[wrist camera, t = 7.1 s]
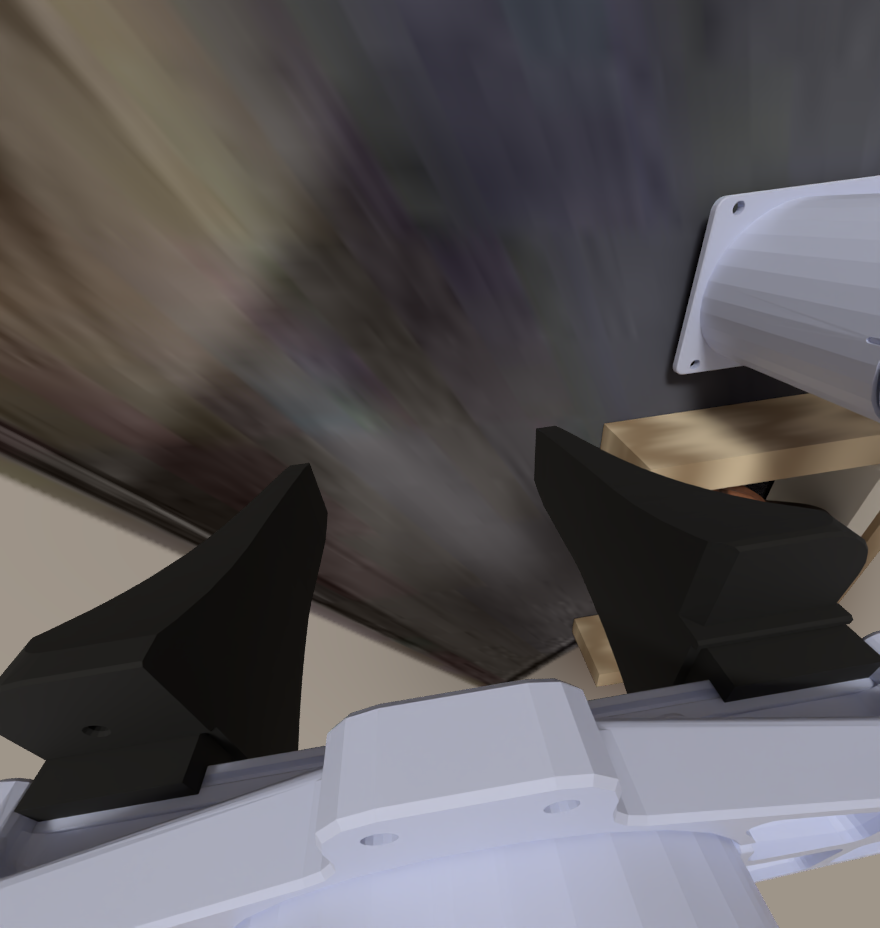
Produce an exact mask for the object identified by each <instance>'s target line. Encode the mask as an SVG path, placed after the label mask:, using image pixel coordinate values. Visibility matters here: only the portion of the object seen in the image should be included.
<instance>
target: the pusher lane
mask: <svg viewBox="0 0 880 928" xmlns="http://www.w3.org/2000/svg"><path fill="white" fill-rule="evenodd" d="M600 449H602V450H604V451H606V452H608V453H610V454H612V455H614V456H616V457H618V458H620V459H623V460H625V461H627V462H629V463H632V464H634V465H636V466H639V467H641V468H644V469H646V470H649V471H652V472H654V473H657V474H660V475H663V476H666V477H668V478H671V479H674V480H678V481H681V482H684V483H687V484H691V485H695V486H698V487H702V488H705V489H709V490H714V489H721V488H727V487H734V486H740V485H746V484H753V483H759V482H766V481H772V480H779V479H785V478H791V477H798V476H804V475H811V474H817V473H823V472H830V471H836V470H843V469H849V468H856V467H862V466H868V465H875V464H880V423H878V422H876V421H874V420H871V419H869V418H867V417H864V416H862V415H860V414H857V413H855V412H853V411H850V410H848V409H846V408H843V407H841V406H839V405H836V404H834V403H831V402H829V401H827V400H824V399H822V398H820V397H817V396H815V395H813V394H810V393H807V394H800V395H794V396H787V397H780V398H774V399H767V400H760V401H754V402H747V403H740V404H733V405H727V406H720V407H713V408H707V409H700V410H693V411H686V412H680V413H673V414H666V415H660V416H653V417H646V418H639V419H633V420H626V421H619V422H613V423H606V424H604V428H603V435H602V441H601V448H600ZM861 537H862V538H863V539H865V541H866V544H867V547H868V555H867V560H866V564H865V565H864V567H863V569H862V570H861V572H860V573H859V575H858V576H857V577H856V579H855V580H854V581H853V583H852V584H851V585H850V586H849V588H848V589H847V590H846V592H845V593H844V594H843V596H842V597H841V598H840V599H839V601H838V602H837V603H839V602H840V601H841V600H842V598H843V597H844V595H845V594H846V593H847V592H848V591H849V589H850V588H851V587H852V585H853V584H854V583H855V582H856V580H857V579H858V578H859V577H860V575H861V574H862V573H863V571H864V570H865V569H866V568H867V566H868V565H869V564H870V562H871V561H872V560H873V559H874V557H875V556H876V555H877V553H878V552H879V551H880V511H879V512H878V514H877V515H876V517H875V518H874V519H873V521H872V522H871V523H870V525H869V526H868V528H867V529H866V530H865V532H864V533H863V535H862V536H861ZM572 632H573V634H574V637H575V639H576V641H577V644H578V646H579V648H580V651H581V653H582V655H583V657H584V660H585V662H586V664H587V667H588V669H589V671H590V673H591V676H592V678H593V680H594V683H595V685H596V687H599V686H606V685H612V684H617V683H623V680H622V677H621V674H620V671H619V668H618V665H617V663H616V660H615V657H614V655H613V652H612V649H611V647H610V644H609V641H608V639H607V636H606V633H605V630H604V628H603V625H602V623H601V620H600V618H599V615H594V616H588V617H582V618H576V619H574V623H573V630H572Z"/></svg>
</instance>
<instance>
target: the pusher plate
mask: <svg viewBox="0 0 880 928" xmlns="http://www.w3.org/2000/svg"><path fill="white" fill-rule="evenodd" d="M766 500H771V501H785V502H795V503H802V504H809V505H813V506H816V507H819V508H822V509H824V510H826V511H827V512H828V513H829V514H830V515H831V516H832V517H834V518H835V519H836V520H838V521H839V522H841V523H842V524H843V525H845V526H846V527H848V528H849V529H851V530H852V531H853V532H855V533H856V534H858V535H859V536H860V537H861V536H862V535H863V533H864V532H865V530H866V529H867V528H868V526H869V525H870V523H871V522H872V521H873V519H874V518H875V517H876V515H877V514H878V512H879V511H880V464H875V465H868V466H862V467H856V468H849V469H843V470H836V471H830V472H823V473H817V474H811V475H804V476H798V477H791V478H785V479H779V480H775V482H774V484H773V486H772V488H771V490H770V492H769V494H768V496H767V498H766Z"/></svg>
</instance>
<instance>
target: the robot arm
mask: <svg viewBox="0 0 880 928" xmlns="http://www.w3.org/2000/svg"><path fill="white" fill-rule="evenodd" d="M736 203H738V208H737V210H736V211H735V213H734V214H733V207H734V205H735V204H736ZM694 360H695V362H694V364H693V365H692V366H690V365H691V363H692V362H693V361H694ZM738 366H747V367H749V368H752V369H754V370H756V371H759V372H761V373H763V374H766V375H768V376H770V377H773V378H775V379H777V380H780V381H782V382H784V383H787V384H789V385H792V386H794V387H796V388H799V389H801V390H803V391H806V392H808V393H810V394H813V395H815V396H817V397H820V398H822V399H824V400H827V401H829V402H831V403H834V404H836V405H839V406H841V407H843V408H846V409H848V410H850V411H853V412H855V413H857V414H860V415H862V416H864V417H867V418H869V419H871V420H874V421H876V422H878V423H880V175H878V176H871V177H863V178H856V179H848V180H840V181H833V182H825V183H818V184H810V185H803V186H795V187H787V188H780V189H772V190H765V191H757V192H750V193H742V194H734V195H727V196H723V197H721V198H719V199H718V200H717V201H716V202H715V203H714V205H713V207H712V209H711V212H710V216H709V220H708V224H707V228H706V232H705V236H704V240H703V245H702V249H701V253H700V257H699V261H698V265H697V269H696V273H695V277H694V281H693V285H692V289H691V294H690V298H689V302H688V306H687V310H686V314H685V318H684V322H683V326H682V330H681V334H680V339H679V343H678V347H677V351H676V355H675V359H674V363H673V370H674V371H675V372H677V373H678V374H690V373H697V372H704V371H711V370H718V369H724V368H731V367H738ZM534 481H535V484H536V487H537V489H538V492H539V495H540V497H541V500H542V502H543V505H544V507H545V509H546V511H547V512H548V514H549V516H550V518H551V520H552V521H553V523H554V525H555V527H556V529H557V530H558V532H559V534H560V536H561V537H562V539H563V541H564V543H565V544H566V546H567V548H568V550H569V552H570V553H571V555H572V557H573V559H574V560H575V562H576V564H577V566H578V568H579V570H580V572H581V575H582V577H583V579H584V582H585V584H586V586H587V589H588V591H589V593H590V596H591V598H592V600H593V603H594V605H595V608H596V610H597V613H598V615H599V618H600V620H601V623H602V625H603V628H604V630H605V633H606V636H607V639H608V641H609V644H610V647H611V649H612V652H613V655H614V657H615V660H616V663H617V665H618V668H619V671H620V674H621V677H622V680H623V683H624V685H625V689H626V691H627V694H623V695H619V696H612V697H606V698H600V699H594V700H589V701H587V700H586V697H585V695H584V693H583V690H582V689H580V688H578V687H576V686H574V685H571V684H568V683H565V682H563V681H560V680H557V679H555V678H554V679H553V678H552V679H525V680H519V681H513V682H507V683H501V684H495V685H489V686H483V687H478V688H472V689H466V690H461V691H454V692H448V693H443V694H436V695H430V696H425V697H419V698H413V699H407V700H401V701H395V702H389V703H383V704H378V705H375V706H372V707H369V708H366V709H362V710H360V711H356V712H353V713H350V714H349V715H348V716H347V717H346V718H344V719H343V720H342V721H341V722H340V723H338V724H337V725H336V726H335V727H334V728H333V729H332V730H331V731H329V732H328V734H327V740H326V746H321V747H315V748H310V749H304V750H298V741H299V718H300V702H301V688H302V687H301V686H302V675H303V664H304V653H305V644H306V635H307V627H308V618H309V612H310V606H311V601H312V597H313V593H314V588H315V584H316V580H317V575H318V571H319V567H320V563H321V558H322V554H323V549H324V545H325V540H326V529H327V514H328V512H327V509H326V507H325V504H324V501H323V499H322V496H321V493H320V490H319V488H318V485H317V482H316V480H315V477H314V474H313V471H312V469H311V466H310V463H305V464H298V465H292V466H289V467H288V468H287V469H285V470H284V471H283V472H282V473H281V474H280V475H279V476H278V477H277V478H275V479H274V480H273V481H272V482H271V483H270V484H269V485H268V486H267V487H266V488H265V489H264V490H263V491H262V492H261V493H260V494H259V495H258V496H257V497H256V498H255V499H253V500H252V501H251V502H250V503H249V504H248V505H247V506H246V507H245V508H244V509H243V510H241V511H240V512H239V513H238V514H237V515H236V516H234V517H233V518H232V519H231V520H230V521H229V522H228V523H226V524H225V525H224V526H223V527H222V528H221V529H219V530H218V531H217V532H216V533H214V534H213V535H212V536H210V537H209V538H208V539H207V540H205V541H204V542H202V543H201V544H200V545H198V546H197V547H196V548H194V549H193V550H191V551H190V552H189V553H187V554H186V555H184V556H183V557H181V558H180V559H178V560H177V561H175V562H173V563H172V564H170V565H169V566H167V567H166V568H164V569H163V570H161V571H159V572H158V573H156V574H155V575H153V576H152V577H150V578H149V579H147V580H145V581H143V582H141V583H140V584H138V585H136V586H135V587H133V588H131V589H129V590H127V591H126V592H124V593H122V594H120V595H118V596H117V597H115V598H113V599H111V600H109V601H107V602H105V603H103V604H102V605H100V606H98V607H96V608H94V609H92V610H90V611H88V612H86V613H84V614H82V615H79V616H77V617H75V618H73V619H71V620H69V621H67V622H65V623H63V624H61V625H59V626H57V627H55V628H52V629H51V630H49V631H46V632H44V633H42V634H40V635H38V636H35V637H33V638H32V639H31V640H30V641H29V642H28V643H27V645H26V646H25V647H24V649H23V650H22V651H21V652H20V653H19V654H18V656H17V657H16V658H15V659H14V661H13V662H12V663H11V664H10V665H9V666H8V668H7V669H6V670H5V671H4V672H3V674H2V675H1V676H0V735H1V736H3V737H5V738H6V739H8V740H10V741H12V742H14V743H15V744H17V745H19V746H21V747H23V748H24V749H26V750H28V751H30V752H32V753H34V754H35V755H37V756H39V757H41V758H43V759H44V760H46V761H45V763H44V764H43V766H42V768H41V769H40V771H39V772H38V774H37V775H36V777H35V779H34V780H31V779H24V778H11V779H4V780H0V928H779V927H778V925H777V923H776V921H775V919H774V918H773V916H772V914H771V912H770V910H769V908H768V906H767V905H766V903H765V901H764V900H763V897H762V896H761V894H760V892H759V890H758V888H757V886H756V884H755V883H756V882H760V881H764V880H769V879H773V878H777V877H782V876H786V875H790V874H794V873H799V872H802V871H807V870H811V869H816V868H820V867H824V866H828V865H832V864H837V863H841V862H845V861H850V860H854V859H858V858H863V857H867V856H871V855H876V854H880V631H876V632H873V633H871V634H869V635H867V636H865V637H863V638H860V637H859V636H858V635H857V634H856V633H855V632H854V631H853V630H852V629H850V628H849V627H848V626H847V625H846V624H850V623H851V622H852V620H853V618H852V615H851V614H850V613H849V612H847V611H846V610H845V609H844V608H843V607H842V606H841V605H839V604H838V603H837V602H838V601H839V599H840V598H841V597H842V596H843V594H844V593H845V592H846V590H847V589H848V588H849V586H850V585H851V584H852V583H853V581H854V580H855V579H856V577H857V576H858V575H859V573H860V572H861V570H862V569H863V567H864V565H865V564H866V560H867V555H868V547H867V544H866V541H865V539H863V538H862V537H860V536H859V535H858V534H856V533H855V532H853V531H852V530H851V529H849V528H848V527H846V526H845V525H843V524H842V523H841V522H839V521H838V520H836V519H835V518H834V517H832V516H831V515H829V514H828V513H826V512H825V511H823V510H816V509H809V508H803V507H796V506H789V505H783V504H776V503H770V502H764V501H759V500H754V499H749V498H744V497H739V496H734V495H730V494H725V493H721V492H717V491H713V490H709V489H705V488H702V487H698V486H695V485H691V484H687V483H684V482H681V481H678V480H674V479H671V478H668V477H666V476H663V475H660V474H657V473H654V472H652V471H649V470H646V469H644V468H641V467H639V466H636V465H634V464H632V463H629V462H627V461H625V460H623V459H620V458H618V457H616V456H614V455H612V454H610V453H608V452H606V451H604V450H602V449H600V448H598V447H596V446H594V445H592V444H590V443H588V442H586V441H584V440H582V439H581V438H579V437H577V436H575V435H573V434H571V433H569V432H567V431H565V430H563V429H561V428H559V427H557V426H551V427H544V428H538V429H536V447H535V474H534Z"/></svg>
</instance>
